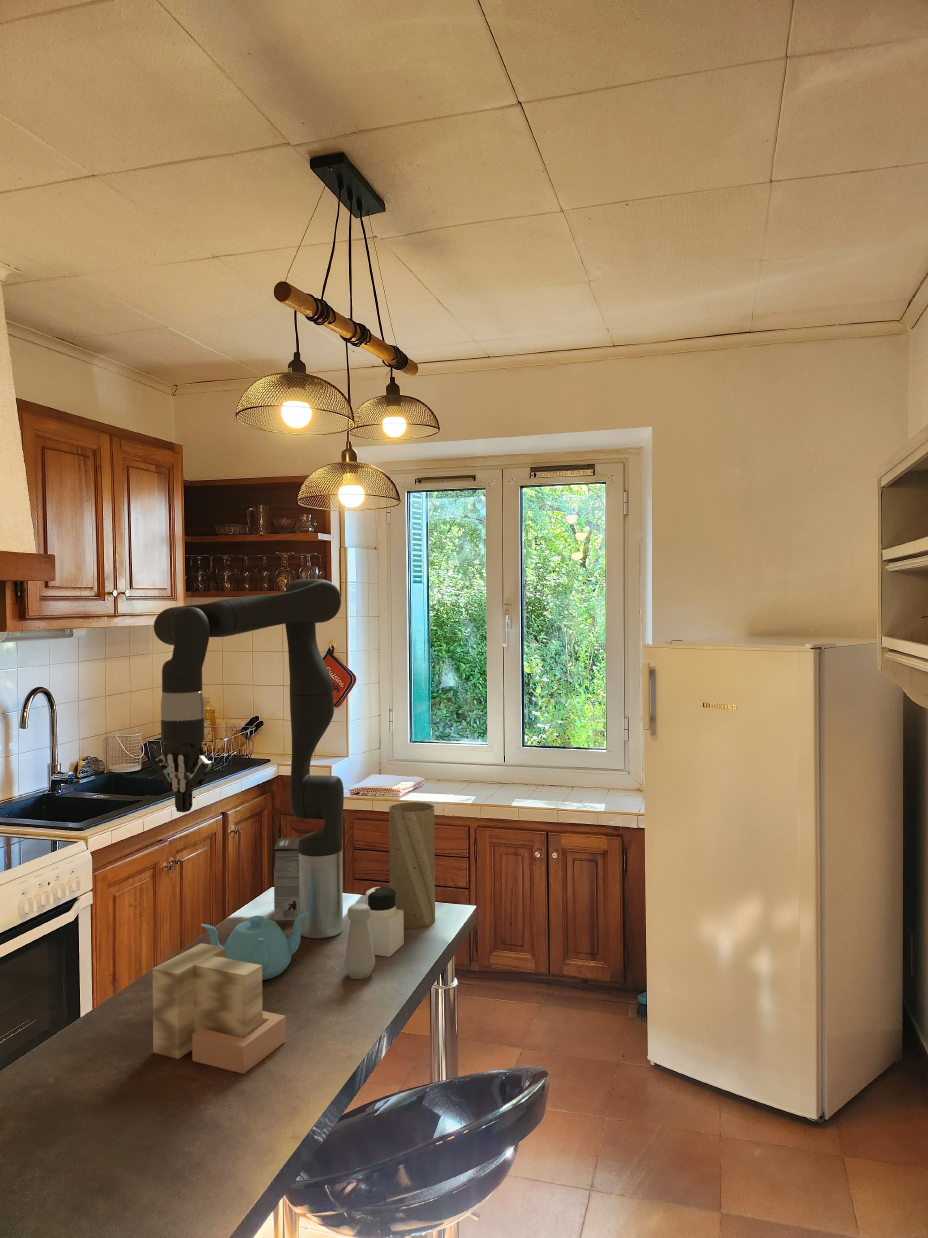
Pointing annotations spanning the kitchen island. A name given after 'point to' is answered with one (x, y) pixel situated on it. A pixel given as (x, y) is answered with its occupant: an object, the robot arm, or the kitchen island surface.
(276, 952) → the teapot
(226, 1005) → the t block
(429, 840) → the tube
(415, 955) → the kitchen island surface
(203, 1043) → the frame
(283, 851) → the coffee box
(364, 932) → the salt shaker
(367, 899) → the medicine bottle
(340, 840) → the robot arm
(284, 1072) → the kitchen island surface
